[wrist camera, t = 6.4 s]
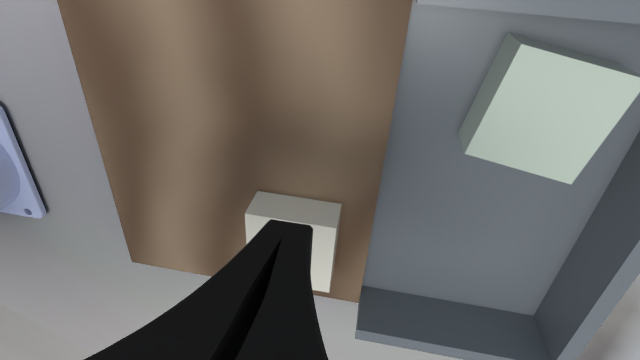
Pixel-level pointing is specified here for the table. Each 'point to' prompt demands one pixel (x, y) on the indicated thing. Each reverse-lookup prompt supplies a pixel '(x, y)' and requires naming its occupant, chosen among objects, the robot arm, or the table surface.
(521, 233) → the tray
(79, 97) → the table surface
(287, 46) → the walnut board
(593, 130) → the sage tile
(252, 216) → the cream tile
